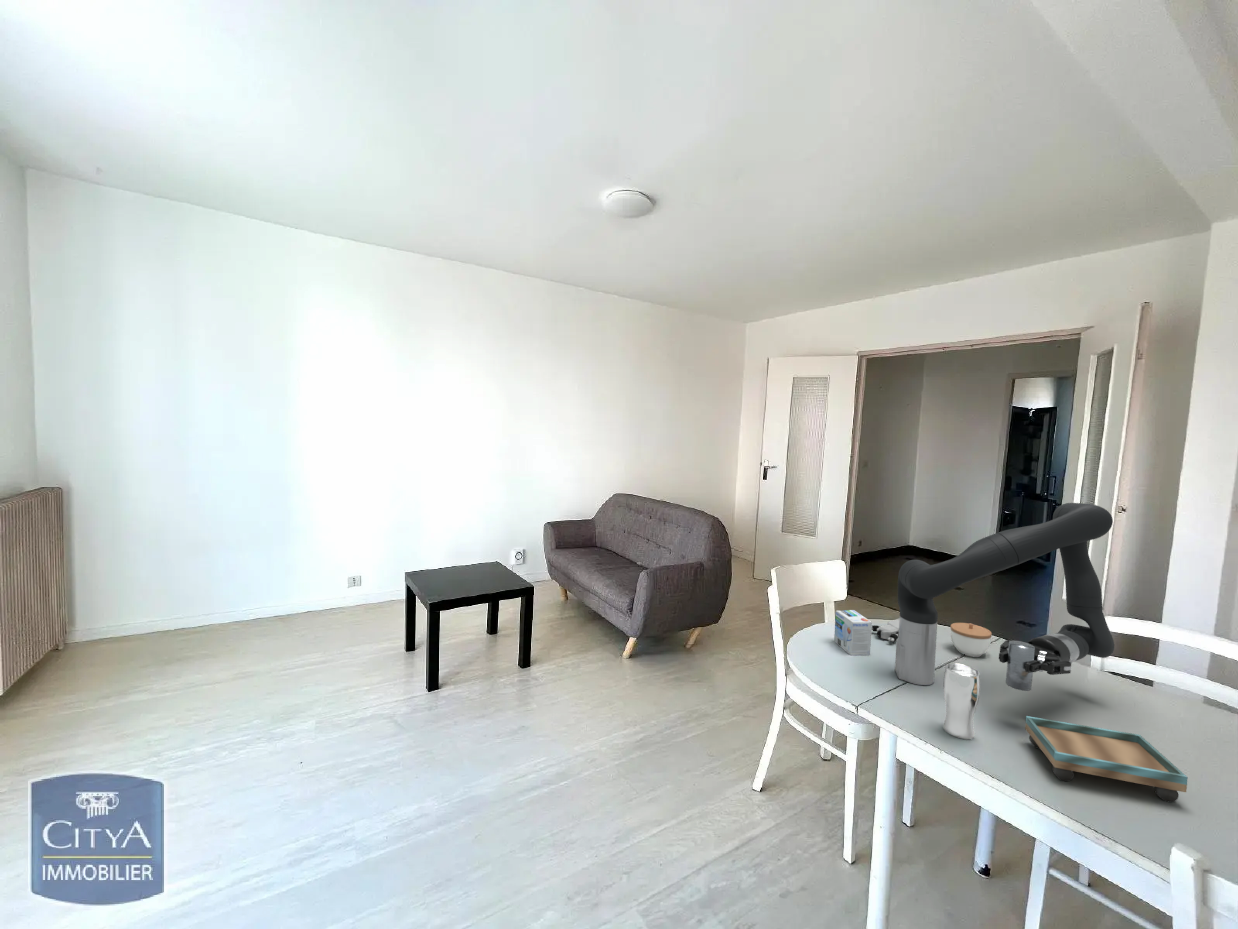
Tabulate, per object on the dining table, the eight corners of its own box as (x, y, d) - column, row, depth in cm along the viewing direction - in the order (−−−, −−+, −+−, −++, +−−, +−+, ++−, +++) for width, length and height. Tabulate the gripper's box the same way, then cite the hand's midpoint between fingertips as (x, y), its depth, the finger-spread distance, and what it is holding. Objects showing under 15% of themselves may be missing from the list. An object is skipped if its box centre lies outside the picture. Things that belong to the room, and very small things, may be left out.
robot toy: (891, 650, 164) (929, 642, 168) (891, 636, 164) (929, 629, 167) (864, 635, 176) (900, 628, 180) (864, 622, 175) (900, 615, 179)
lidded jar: (964, 643, 167) (965, 616, 167) (998, 657, 157) (1000, 628, 157) (941, 648, 164) (943, 620, 163) (974, 662, 154) (976, 632, 153)
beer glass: (977, 744, 113) (982, 679, 112) (941, 734, 117) (944, 671, 116) (975, 729, 119) (979, 667, 118) (940, 720, 123) (944, 660, 122)
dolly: (1053, 781, 101) (1055, 753, 101) (1024, 741, 114) (1026, 716, 114) (1184, 807, 95) (1187, 777, 94) (1137, 761, 108) (1139, 734, 107)
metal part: (1010, 688, 119) (1013, 647, 118) (1002, 679, 123) (1005, 639, 122) (1035, 692, 117) (1038, 650, 116) (1026, 682, 122) (1029, 642, 121)
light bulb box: (833, 641, 168) (834, 609, 167) (852, 641, 168) (854, 609, 168) (850, 656, 157) (852, 622, 156) (871, 655, 158) (873, 621, 157)
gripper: (1021, 625, 132) (982, 636, 125) (1090, 648, 119) (1052, 660, 112) (1018, 653, 133) (980, 665, 125) (1087, 678, 120) (1049, 693, 112)
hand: (1014, 663), depth 118 cm, fingers closed on metal part, 4 cm apart
